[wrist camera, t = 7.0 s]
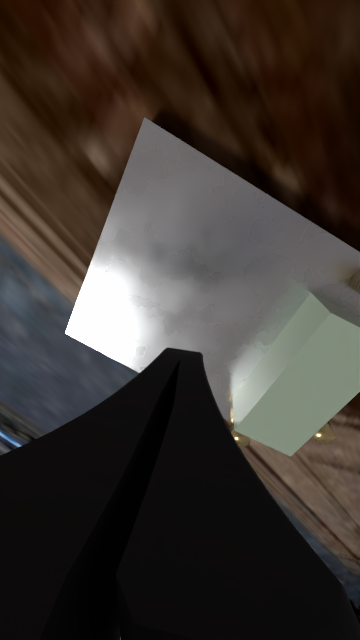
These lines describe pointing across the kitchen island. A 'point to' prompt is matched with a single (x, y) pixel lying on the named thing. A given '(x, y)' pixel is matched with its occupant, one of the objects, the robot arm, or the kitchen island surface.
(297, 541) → the robot arm
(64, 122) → the kitchen island surface
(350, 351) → the pale green block
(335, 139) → the kitchen island surface
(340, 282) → the chassis
